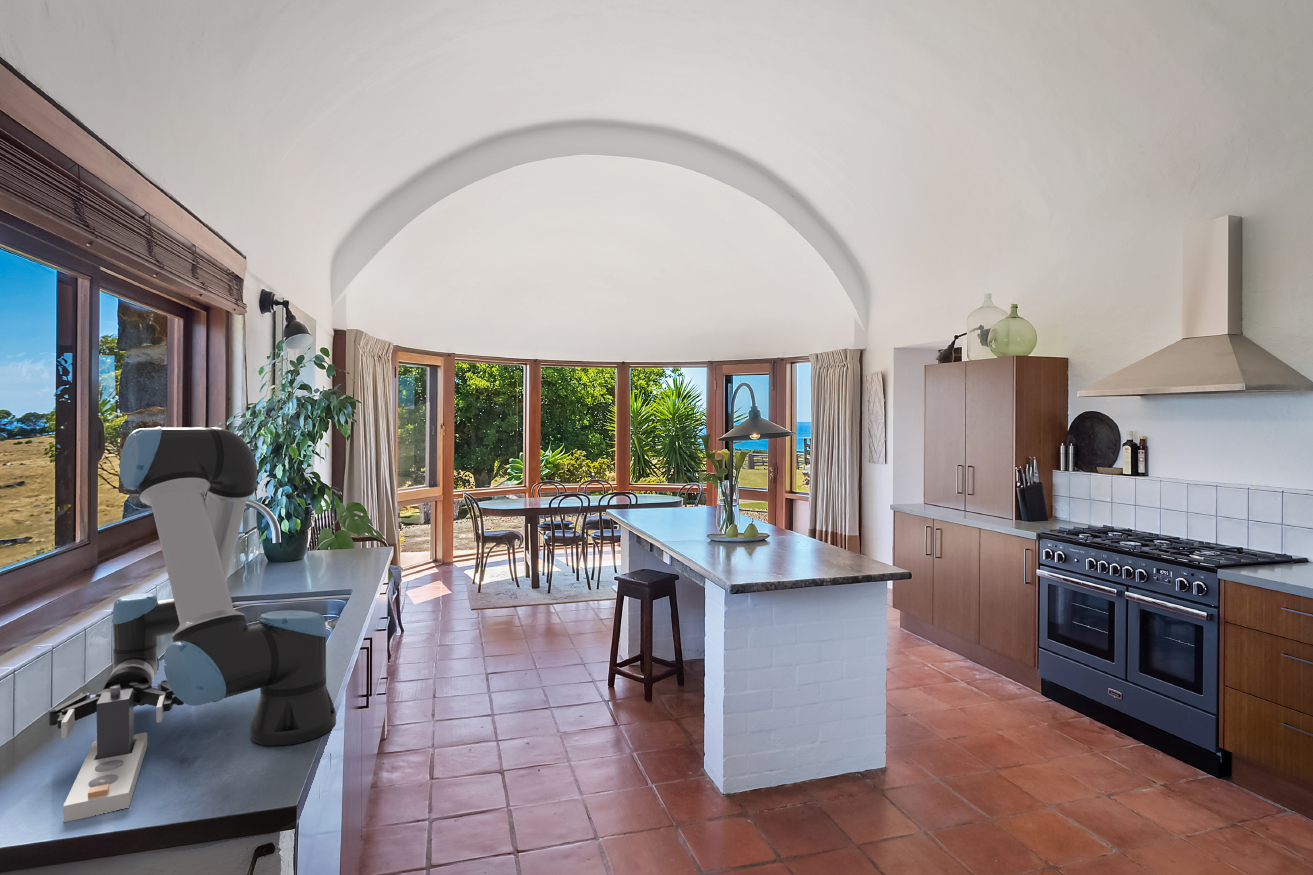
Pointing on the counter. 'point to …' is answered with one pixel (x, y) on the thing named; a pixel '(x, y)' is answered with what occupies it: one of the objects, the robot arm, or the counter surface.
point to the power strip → (105, 782)
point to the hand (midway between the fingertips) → (112, 722)
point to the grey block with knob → (115, 723)
